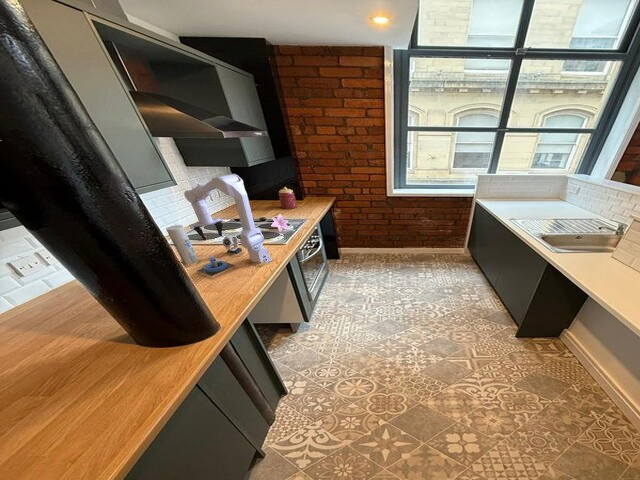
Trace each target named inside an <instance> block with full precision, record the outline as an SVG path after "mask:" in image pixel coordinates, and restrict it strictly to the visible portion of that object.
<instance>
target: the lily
mask: <svg viewBox="0 0 640 480" xmlns="http://www.w3.org/2000/svg"><path fill="white" fill-rule="evenodd" d="M271 219H272V220H273V222H272V223H271V225H270V226H271V227H273V228H277V229H278V231H279V232H280V233H281V232H282V231H283V229H286V230H290V227H289V225H288V223H289V220H286V219H284V217H283V215H282V214H281V213H279V215H277V218H276V217H271Z"/></svg>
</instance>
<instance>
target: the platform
mask: <svg viewBox="0 0 640 480" xmlns="http://www.w3.org/2000/svg"><path fill="white" fill-rule="evenodd" d="M216 261H217V260H216ZM216 261H213V262H212V265H213V266H212V267H210V268H216V267H219V266H221V265H217V263H216ZM225 262H226V264H227V267H226V268H225V269H223V270H221V271H217V272H206V271H205V269H204V267H202V268H199V269H197V270H196V272H199V273H201V274H205V275H207V276H210V277H213V276H216V275H218V274H221V273H222V272H224V271H227V270H229V269H231V268H233V267H236V266H237V265H236V264H233V263H229V262H227V261H225Z"/></svg>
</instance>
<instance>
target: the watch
mask: <svg viewBox="0 0 640 480" xmlns="http://www.w3.org/2000/svg"><path fill="white" fill-rule="evenodd" d="M222 245H223V246H224V248H225V249H226V253H227V254H231V255H238V254H240V253H241V252H242V251H243V249H242V247H239V239H238V238H237V236H236V235H226V236H225V237H224V238H223V239H222ZM232 246H233V247H232Z"/></svg>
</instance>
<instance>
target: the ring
mask: <svg viewBox="0 0 640 480" xmlns="http://www.w3.org/2000/svg"><path fill="white" fill-rule="evenodd" d="M208 259H209V263H207V264H205V265H203V268H204V269H205V271H206V272H217V271H221V270H223V269H225V268H226V267H227V264H226V262H227V261H224V260H217V259H216V257H215V256H212V257H209V258H208ZM213 261H216V263H217V265H221V266H219V267H216V268H210V267H212V266H213V265H212V262H213Z"/></svg>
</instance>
